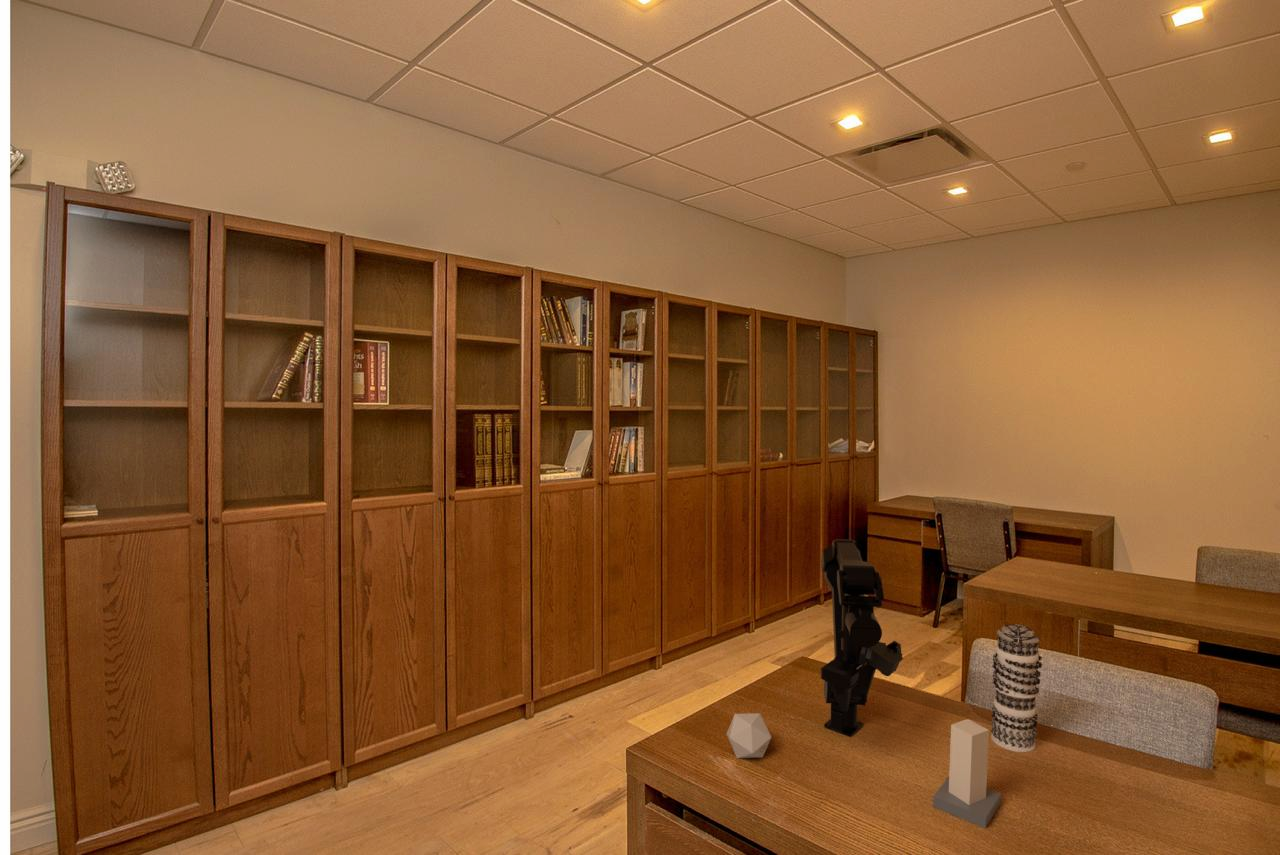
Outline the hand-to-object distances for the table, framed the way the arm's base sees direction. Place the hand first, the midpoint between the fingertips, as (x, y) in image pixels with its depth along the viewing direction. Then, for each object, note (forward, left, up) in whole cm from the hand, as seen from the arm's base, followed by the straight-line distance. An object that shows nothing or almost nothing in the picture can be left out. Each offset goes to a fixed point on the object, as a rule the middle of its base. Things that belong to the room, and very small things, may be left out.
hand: (854, 702), depth 142 cm
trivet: (-1, +22, -13) cm, 25 cm away
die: (+11, -18, -13) cm, 25 cm away
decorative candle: (-30, +22, -13) cm, 40 cm away
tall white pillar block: (-1, +22, -11) cm, 24 cm away
